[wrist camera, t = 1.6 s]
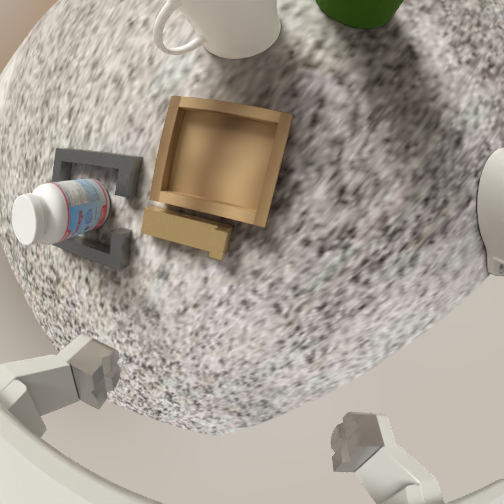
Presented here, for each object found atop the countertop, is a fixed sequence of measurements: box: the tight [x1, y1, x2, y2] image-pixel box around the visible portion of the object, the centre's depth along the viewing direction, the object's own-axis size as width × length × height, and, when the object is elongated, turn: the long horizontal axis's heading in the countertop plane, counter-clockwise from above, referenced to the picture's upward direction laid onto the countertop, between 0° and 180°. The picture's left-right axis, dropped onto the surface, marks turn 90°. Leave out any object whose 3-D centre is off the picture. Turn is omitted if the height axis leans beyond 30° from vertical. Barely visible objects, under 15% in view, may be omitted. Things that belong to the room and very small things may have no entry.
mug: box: [153, 0, 281, 59], centre depth 15 cm, size 12×8×12 cm
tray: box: [149, 96, 293, 228], centre depth 23 cm, size 11×10×3 cm
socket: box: [52, 148, 142, 270], centre depth 27 cm, size 12×12×2 cm
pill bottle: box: [12, 179, 110, 246], centre depth 22 cm, size 6×6×11 cm
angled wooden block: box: [141, 206, 234, 260], centre depth 26 cm, size 9×3×3 cm, turn 76°
